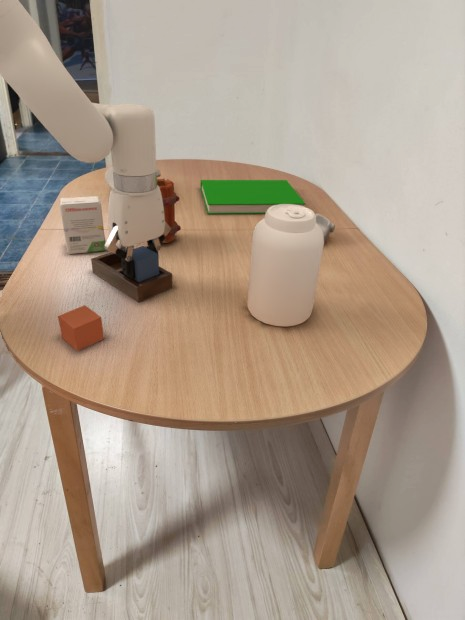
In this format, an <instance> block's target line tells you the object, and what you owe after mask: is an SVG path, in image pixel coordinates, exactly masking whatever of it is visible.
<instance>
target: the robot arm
mask: <svg viewBox="0 0 465 620" xmlns="http://www.w3.org/2000/svg"><path fill="white" fill-rule="evenodd" d="M0 76H1V77H2V79H3V80H4V81H5V82H6V83H7V84H8V85H9V87H11V89H12V90H13V91H14V92H15V93H16V94H17V95H18V97H19V98H20V100H22V102H23V103H24V104H25V105H26V107H27V108H28V109H29V110H30V112H31V113H32V114H33V115H34V117H36V119H37V120H38V122H40V123H41V124H42V125H43V127H44V128H45V129H46V130H47V132H49V134H50V135H51V136H52V137H54V139H55V141H57V143H58V144H59V145H60V146H61V147H62V148H63V149H64V150H65V151H66V152H67V153H68V154H69V155H70V156H71V157H73V158H74V159H75V160H78V161H80V162H81V163H86V164H95V163H98V162H101V161H102V160H104V159H106V158H107V157H108V156H109V155H111V166H112V167H113V178H114V189H110V191H109V195H108V207H107V210H108V211H107V221H108V222H107V224H108V225H107V227H108V237H107V239H106V240H105V245H104V248H105V249H106V251H108V252H109V253H110V252H113V253H115V254H116V255H118V256H119V257H121V261H122V271H123V273H124V274H125V275H126V276H128V277H130V278H131V279H134V278H135V264H134V260H133V259H132V253H133V249H135V248H134V247H135V245H139V244H142V243H145V242H146V243H147V246H145V247H146V248H148V249H150V250H152V251H154V252H156V253H157V254H159V251H161V249H162V244H164V243H163V241H164V239H165V236H167V234H168V233H169V232H170V230H171V228H170V226H169V225H168V224H167V223H166V222H165V217H164V207H163V201H162V195H161V191H160V188H159V186H158V185H157V179H158V178H160V177H161V176H162V173H161V170H160V169H157V147H156V146H157V145H156V144H157V143H156V122H155V114H154V110H152V109H151V107H149V106H147V105H144V104H139V103H138V104H137V103H120V104H115V105H112V104H105V103H104V104H103V103H96V102H92V101H91V100H90V99H89V97H88V95H86V94H85V92H84V91H83V90H82V88H81V87H80V86H79V84H78V83H77V82H76V81H75V79H74V77H73V76H72V75H71V73H69V71H68V70H67V68H66V67H65V65H64V64H63V63H62V61H61V60H60V58H59V57H58V55H57V54H56V52H55V50H54V49H53V46H52V45H51V43H50V41H49V39H48V38H47V36H46V35H45V33H44V32H43V30H42V29H41V27H40V26H39V25H38V23H37V22H36V21H35V20H34V18H33V17H32V16H31V14H30V13H29V12H28V10H27V9H26V8H25V7H24V5H23V4H22V3H21V1H20V0H0ZM110 152H111V153H110ZM118 241H119V245H118V246H117V243H118ZM125 250H126V252H125Z"/></svg>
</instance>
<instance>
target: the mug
mask: <svg viewBox="0 0 465 620" xmlns="http://www.w3.org/2000/svg"><path fill="white" fill-rule="evenodd" d="M174 184H175V183H174V182H173V181H172V180H170V179H168V178H167V179H166V180H165V178H157V185H158V186H159V188H160V191H161V195H162V201H163V207H164V217H165V222H166V223H167V224H168V225H169V226H170V228H171V230H170V232H169V233H168V234H167V236H165V239H164V241H163V243H162V244H169V243H172V242H173V241H174V240H175V238H176V234H177V233H178V232H179V231H181V229H182V227H181V226H180V225H179V224H178V222H177V221H176V214H175V213H176V212H175V211H176V209H175V204H176V203H177V202H179V201H180V199H181V198H180V196H178V195H177V193H176V191H175V185H174Z"/></svg>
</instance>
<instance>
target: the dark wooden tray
mask: <svg viewBox="0 0 465 620" xmlns="http://www.w3.org/2000/svg"><path fill="white" fill-rule="evenodd" d="M125 252H126V250H125ZM90 260H91V261H90V262H91V269H92V274H94V275H96V276H97V277H99V278H100V279H102V280H103V281H105V282H107V283H108V284H109V285H110V286H112V287H114V288H116V289H117V290H119V291H121V292H122V293H124V294H125V295H127V296H128V297H130V298H131V299H133V300H134V301H136V302H137V303H140V302H143V301H145V300H148V299H150V298H152V297H155V296H157V295H159V294H161V293H164V292H166V291H168V290H170V289H173V273H172V272H171V271H169V270H167V269H165V268H163V267H161V266H159V275H156V276H154V277H151V278H149V279H146V280H144V281H141V282H138V281H136V280H134V279H131V278H130V277H128V276H126V275H125V274H124V273H123V271H122V261H121V257H119V256H118V255H116V254H115V253H113V252H110V251H109V252H107V253H104V254H101V255H97V256H96V257H92V258H91V259H90Z"/></svg>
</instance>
